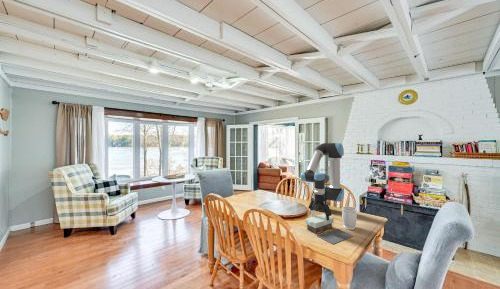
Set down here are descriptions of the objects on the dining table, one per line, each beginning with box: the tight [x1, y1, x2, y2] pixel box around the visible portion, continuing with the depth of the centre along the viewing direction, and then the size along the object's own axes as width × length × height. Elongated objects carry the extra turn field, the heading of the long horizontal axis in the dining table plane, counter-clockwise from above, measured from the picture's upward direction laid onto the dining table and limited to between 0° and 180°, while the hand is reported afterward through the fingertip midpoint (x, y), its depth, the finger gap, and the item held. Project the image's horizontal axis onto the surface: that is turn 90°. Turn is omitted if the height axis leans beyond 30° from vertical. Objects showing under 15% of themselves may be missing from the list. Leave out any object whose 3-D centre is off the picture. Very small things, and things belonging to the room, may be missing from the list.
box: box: [306, 223, 333, 235], centre depth 157 cm, size 18×8×7 cm, turn 120°
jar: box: [341, 205, 358, 231], centre depth 158 cm, size 11×10×15 cm
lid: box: [305, 213, 335, 228], centre depth 156 cm, size 22×10×4 cm, turn 120°
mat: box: [316, 228, 354, 245], centre depth 145 cm, size 22×13×1 cm, turn 120°
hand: (319, 221), depth 156 cm, fingers open, 13 cm apart
